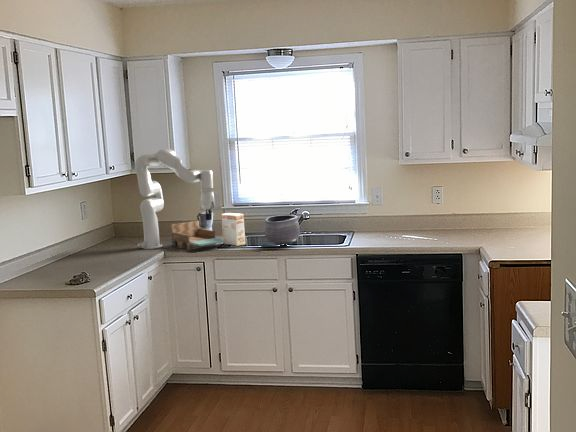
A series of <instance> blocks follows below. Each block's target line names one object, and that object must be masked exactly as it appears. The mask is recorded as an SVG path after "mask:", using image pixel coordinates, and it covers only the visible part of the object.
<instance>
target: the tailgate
mask: <svg viewBox="0 0 576 432" xmlns="http://www.w3.org/2000/svg"><path fill="white" fill-rule="evenodd" d="M223 242H226V240H224V239H223V238H217V237H215V238H212V239H206V240H200V241H194V242H190V244H191V245H196V246H204V245H207V246H206V247H211V246H215V245H217V244H221V243H223ZM210 245H211V246H210Z"/></svg>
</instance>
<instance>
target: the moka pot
mask: <svg viewBox="0 0 576 432" xmlns="http://www.w3.org/2000/svg"><path fill="white" fill-rule="evenodd" d="M211 215H212V220H206V214H205V211H203V212H198V214H197V216H196V219H197V221H199V228H201V229H207V230H212V231H213V227H212V226H213V222H214V211H212V213H211Z"/></svg>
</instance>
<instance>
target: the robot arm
mask: <svg viewBox="0 0 576 432" xmlns="http://www.w3.org/2000/svg"><path fill="white" fill-rule="evenodd" d="M160 166H165V167H167V168H168V169H170V170H171V171H173V172H174V173H175V175H176V176H177V177H178V179H179V178H180V179H181V180H182V181H183V182H186V183H189V184H193V183H199V182H200V198H199V199H200V204H199V205H200V208H201V209H202V210H203V211H204V212H205V214H206V220H212V215H211V213H212V212H214V211H215V207H216V201H215V194H214V176H213V171H212V170H210V169H194V170H193V169H191V170H190V169H188V168H186V167H185V166H184V165H183V160H182V159H181V158H180V157H178V156H177V153H176V152H175V150H174V149H171V148H165V149H164V148H163V149H160V150H158V151H156V152H155V153H146V154H142V155H139V156H138V157H137V158H136V160H135V162H134V168H135V174H136V178H137V185H138V190H139V194H140V195H141V196H142V197H144V198H146V199H144V200H142V201H141V203H140V204H139V209H140V213H141V217H142V218H141V219H142V228H143V229H142V230H143V240H142V242H139V243H137V247H141V248H142V249H144V250H153V249H160V248H163V244H160V230H159V220H158V215H157V214H156V213H158V212H161V211H162V210H163V209H164V206H165V202H164V196H163V190H162V186H161V184H160V183H159V182H158V181H156V180H152V175H151V173H150V171H149V168H155V167H160ZM147 197H149V198H147Z"/></svg>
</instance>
